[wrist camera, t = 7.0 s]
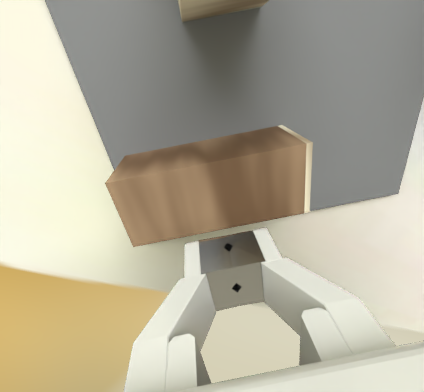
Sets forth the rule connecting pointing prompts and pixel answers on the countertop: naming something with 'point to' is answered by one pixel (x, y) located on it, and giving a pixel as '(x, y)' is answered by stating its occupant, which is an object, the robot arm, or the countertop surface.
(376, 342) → the robot arm
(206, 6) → the ash block
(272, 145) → the walnut block
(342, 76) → the mat
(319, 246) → the countertop surface
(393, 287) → the countertop surface
